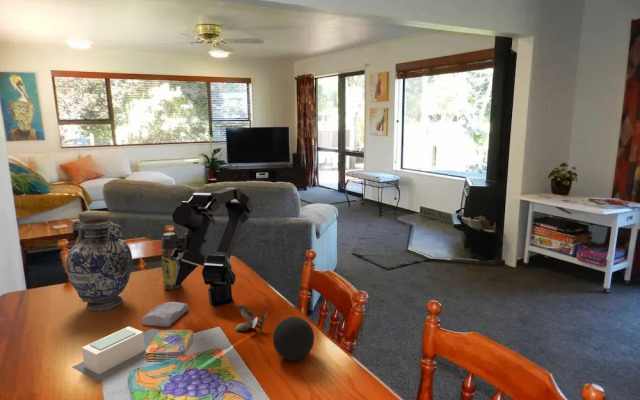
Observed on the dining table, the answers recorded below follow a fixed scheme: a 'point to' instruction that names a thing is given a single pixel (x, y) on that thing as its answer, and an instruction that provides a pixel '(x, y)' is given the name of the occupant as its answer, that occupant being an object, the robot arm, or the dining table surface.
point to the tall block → (113, 349)
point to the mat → (147, 340)
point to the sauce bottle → (169, 267)
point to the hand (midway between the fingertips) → (176, 285)
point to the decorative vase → (99, 263)
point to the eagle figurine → (251, 322)
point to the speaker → (293, 338)
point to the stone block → (165, 314)
